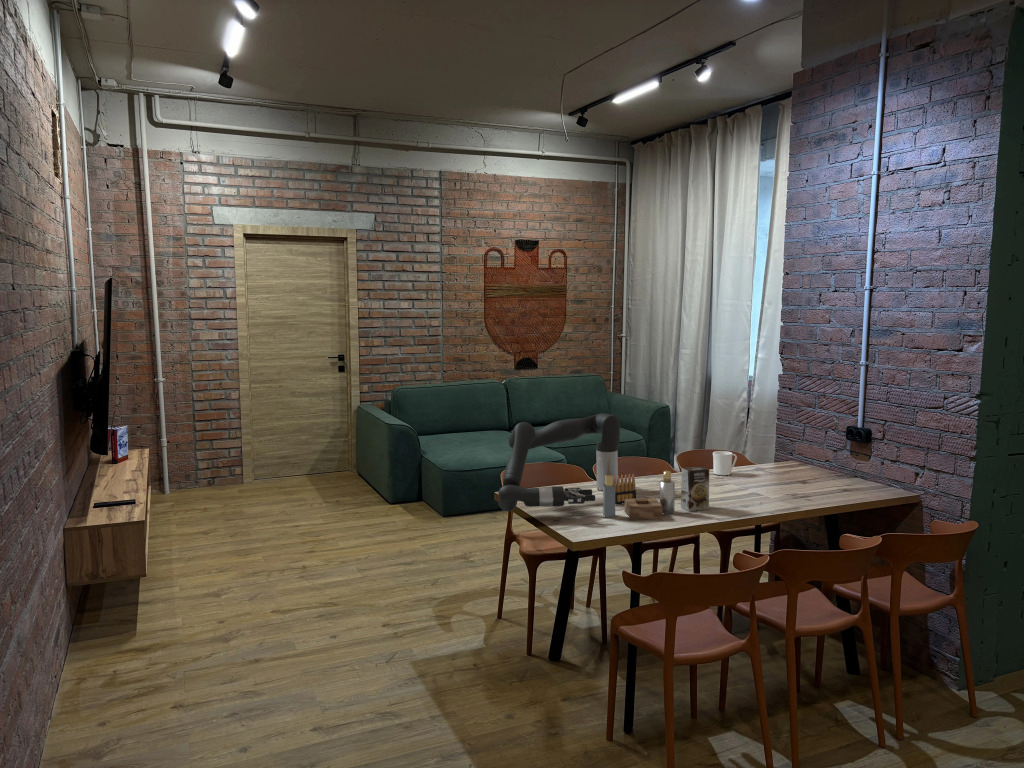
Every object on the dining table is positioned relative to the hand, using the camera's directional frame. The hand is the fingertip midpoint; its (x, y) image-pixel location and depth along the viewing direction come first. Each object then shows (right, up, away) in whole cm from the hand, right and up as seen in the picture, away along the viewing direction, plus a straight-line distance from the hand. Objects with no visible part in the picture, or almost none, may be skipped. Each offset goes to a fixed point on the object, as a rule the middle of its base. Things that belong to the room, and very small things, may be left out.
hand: (593, 494), depth 273 cm
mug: (+69, -1, +66) cm, 96 cm away
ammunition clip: (+15, -7, +20) cm, 26 cm away
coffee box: (+41, -7, +10) cm, 43 cm away
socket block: (+19, -8, +2) cm, 21 cm away
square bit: (+6, -8, +2) cm, 11 cm away
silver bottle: (+29, -8, +5) cm, 31 cm away
